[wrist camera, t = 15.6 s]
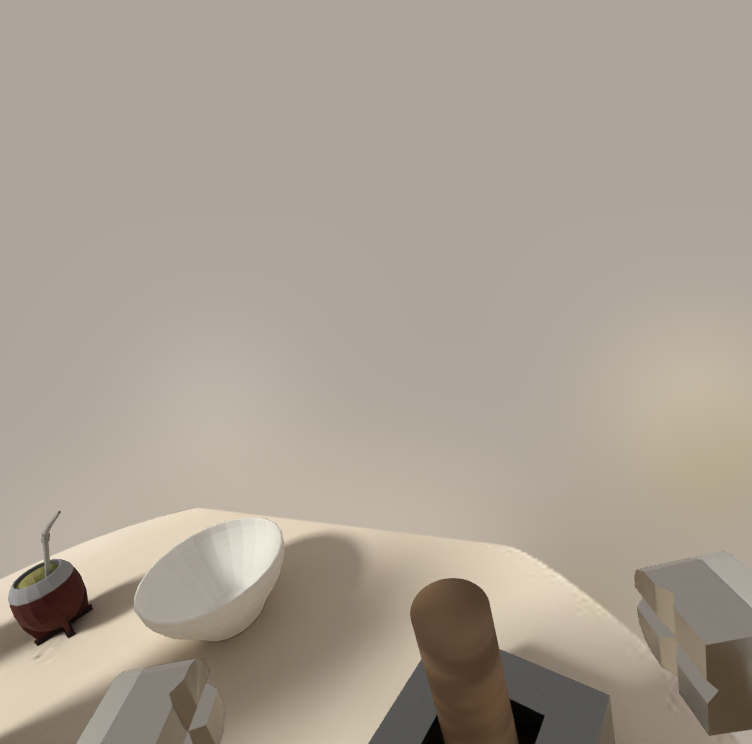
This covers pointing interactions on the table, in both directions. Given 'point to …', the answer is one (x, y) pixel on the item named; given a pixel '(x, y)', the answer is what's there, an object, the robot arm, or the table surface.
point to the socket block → (528, 703)
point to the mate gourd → (49, 596)
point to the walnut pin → (463, 663)
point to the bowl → (212, 581)
